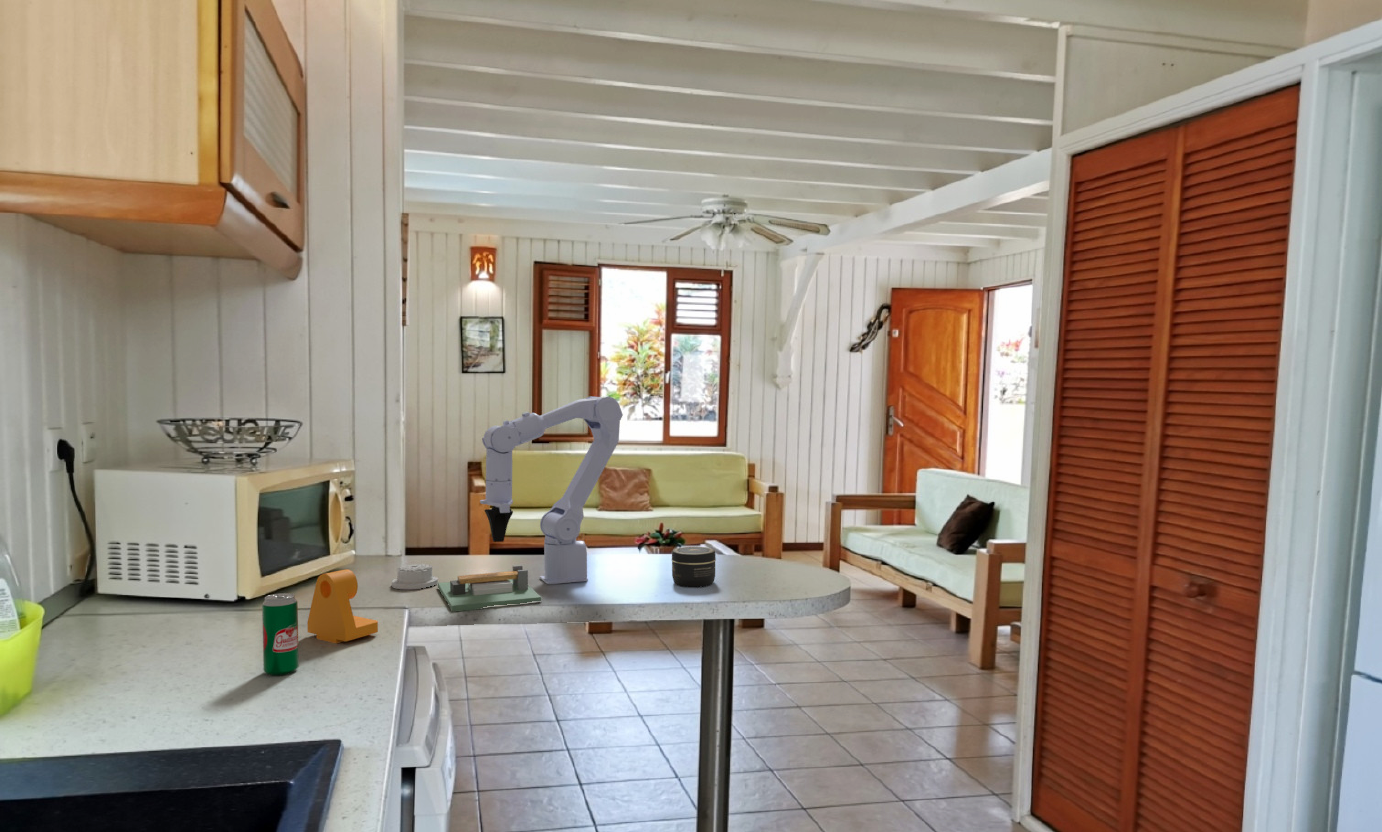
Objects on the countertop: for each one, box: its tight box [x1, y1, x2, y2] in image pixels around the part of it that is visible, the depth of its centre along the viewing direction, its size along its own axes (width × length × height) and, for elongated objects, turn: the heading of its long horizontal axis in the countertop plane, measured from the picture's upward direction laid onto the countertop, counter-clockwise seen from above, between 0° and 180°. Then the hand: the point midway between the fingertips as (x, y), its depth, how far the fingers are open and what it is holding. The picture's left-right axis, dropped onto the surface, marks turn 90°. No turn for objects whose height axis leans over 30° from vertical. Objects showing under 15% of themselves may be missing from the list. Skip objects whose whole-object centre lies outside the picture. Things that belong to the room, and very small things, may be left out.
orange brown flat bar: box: [457, 570, 518, 584], centre depth 191 cm, size 14×4×1 cm, turn 113°
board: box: [437, 564, 542, 613], centre depth 191 cm, size 18×22×5 cm
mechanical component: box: [391, 563, 439, 591], centre depth 201 cm, size 10×4×10 cm
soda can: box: [261, 592, 300, 677], centre depth 140 cm, size 5×5×12 cm
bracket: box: [306, 568, 379, 644], centre depth 160 cm, size 11×7×12 cm, turn 58°
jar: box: [671, 546, 717, 589], centre depth 202 cm, size 10×10×8 cm
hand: (498, 541), depth 197 cm, fingers closed
